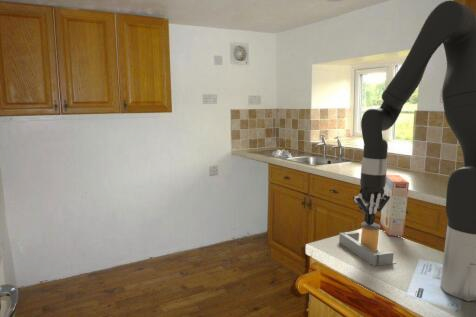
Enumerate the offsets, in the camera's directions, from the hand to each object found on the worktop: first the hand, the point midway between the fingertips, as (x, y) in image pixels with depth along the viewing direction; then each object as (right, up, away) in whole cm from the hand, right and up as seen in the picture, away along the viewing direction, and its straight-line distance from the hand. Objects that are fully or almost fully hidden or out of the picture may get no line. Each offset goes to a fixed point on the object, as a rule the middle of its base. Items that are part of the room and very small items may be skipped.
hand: (369, 223), depth 111 cm
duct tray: (-1, -10, +1) cm, 10 cm away
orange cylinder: (0, -9, +2) cm, 10 cm away
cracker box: (+17, -7, +22) cm, 29 cm away
